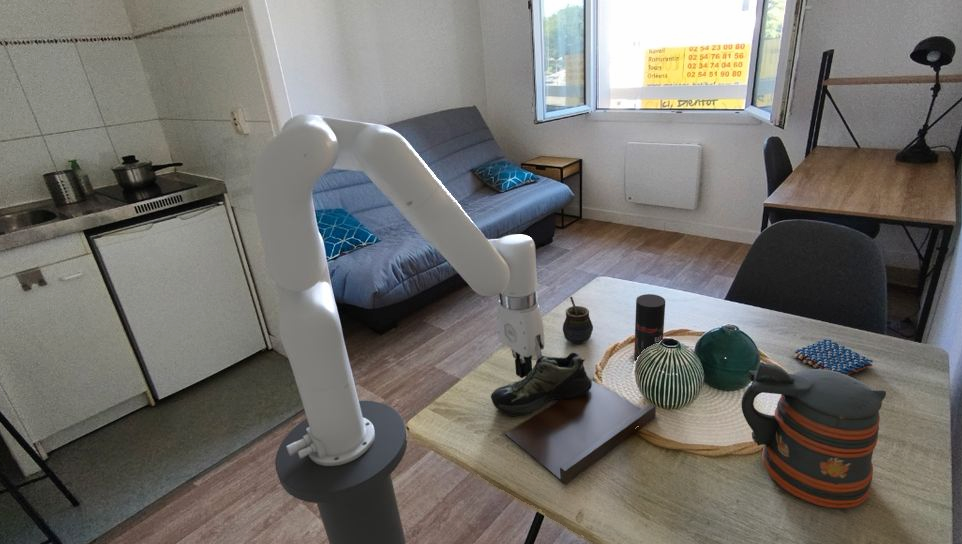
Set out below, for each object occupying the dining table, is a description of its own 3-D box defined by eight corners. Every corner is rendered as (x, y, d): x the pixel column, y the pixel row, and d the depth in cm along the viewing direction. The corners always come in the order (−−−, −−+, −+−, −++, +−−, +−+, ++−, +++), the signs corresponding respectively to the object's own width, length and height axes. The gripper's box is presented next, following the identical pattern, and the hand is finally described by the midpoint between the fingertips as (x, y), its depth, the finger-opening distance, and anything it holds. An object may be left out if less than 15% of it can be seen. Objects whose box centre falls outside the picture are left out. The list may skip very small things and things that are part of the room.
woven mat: (825, 343, 113) (827, 336, 112) (873, 368, 104) (876, 359, 103) (790, 356, 110) (792, 348, 109) (837, 382, 101) (839, 374, 100)
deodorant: (652, 370, 110) (655, 309, 104) (628, 360, 114) (630, 301, 108) (666, 358, 113) (670, 299, 107) (643, 348, 117) (645, 291, 111)
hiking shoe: (486, 399, 106) (481, 362, 102) (577, 372, 111) (576, 336, 107) (499, 424, 98) (494, 384, 94) (597, 394, 103) (596, 355, 100)
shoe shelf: (565, 484, 84) (565, 471, 82) (505, 434, 96) (504, 422, 94) (655, 418, 96) (656, 405, 95) (592, 381, 108) (592, 369, 107)
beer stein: (745, 501, 78) (762, 397, 69) (725, 434, 90) (738, 340, 82) (887, 516, 73) (923, 406, 65) (845, 444, 86) (871, 345, 78)
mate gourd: (573, 350, 119) (572, 313, 115) (556, 336, 126) (555, 301, 122) (598, 342, 122) (598, 305, 118) (580, 328, 128) (580, 293, 124)
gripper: (480, 291, 102) (488, 366, 110) (529, 316, 91) (534, 398, 99) (509, 280, 106) (514, 353, 114) (559, 302, 95) (562, 381, 103)
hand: (524, 373), depth 106 cm, fingers closed
